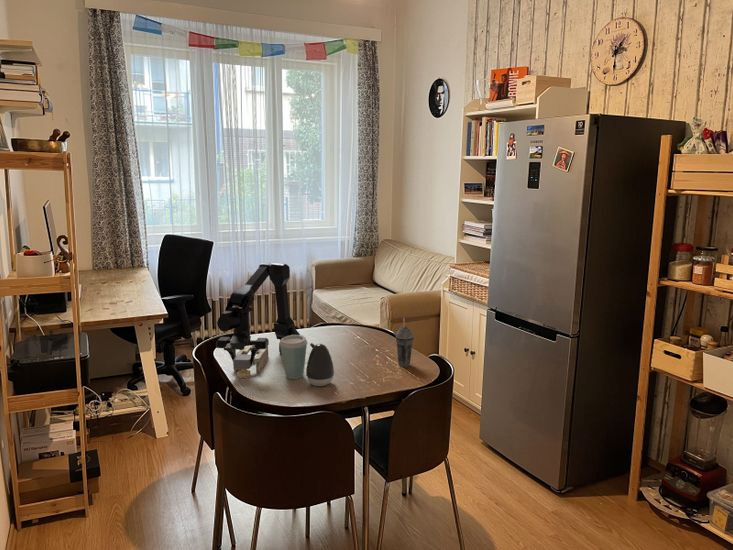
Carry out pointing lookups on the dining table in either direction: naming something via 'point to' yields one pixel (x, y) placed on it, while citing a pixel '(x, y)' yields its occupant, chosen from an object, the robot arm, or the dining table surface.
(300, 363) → the disposable coffee cup
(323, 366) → the pump dispenser
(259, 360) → the keyhole board
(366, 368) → the dining table surface
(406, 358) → the beverage cup
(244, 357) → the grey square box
